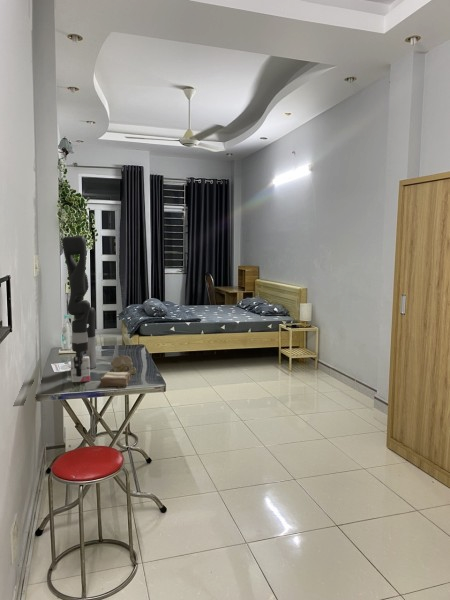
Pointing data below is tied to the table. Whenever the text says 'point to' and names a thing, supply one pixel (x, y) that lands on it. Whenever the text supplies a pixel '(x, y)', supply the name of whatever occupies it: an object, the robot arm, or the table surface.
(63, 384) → the table surface
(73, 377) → the ink box
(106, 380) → the base
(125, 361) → the ceramic model
